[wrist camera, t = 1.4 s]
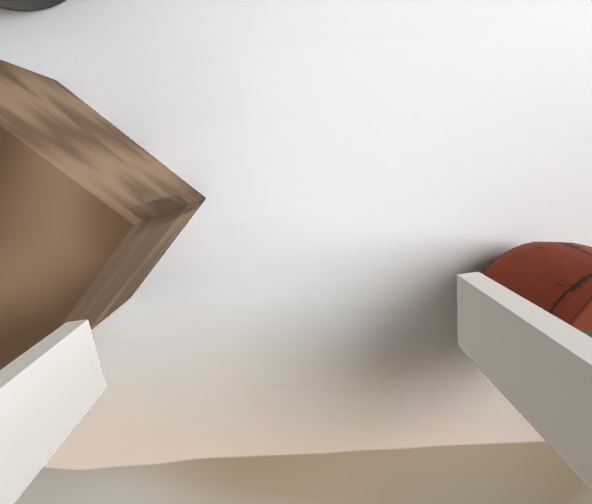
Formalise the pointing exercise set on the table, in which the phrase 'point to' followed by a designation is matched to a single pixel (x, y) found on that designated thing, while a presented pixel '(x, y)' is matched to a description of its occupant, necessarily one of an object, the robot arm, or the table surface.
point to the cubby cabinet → (74, 211)
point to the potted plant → (550, 278)
